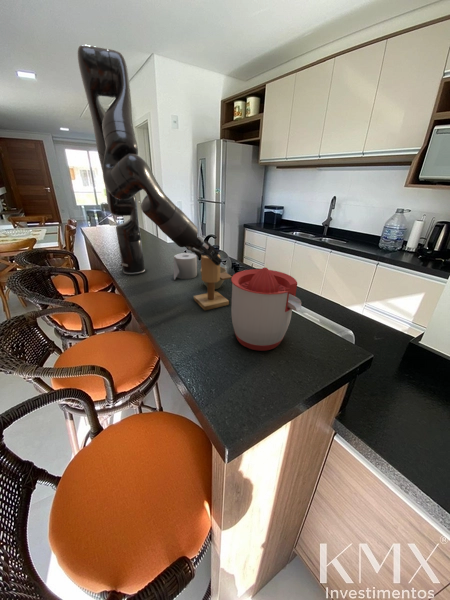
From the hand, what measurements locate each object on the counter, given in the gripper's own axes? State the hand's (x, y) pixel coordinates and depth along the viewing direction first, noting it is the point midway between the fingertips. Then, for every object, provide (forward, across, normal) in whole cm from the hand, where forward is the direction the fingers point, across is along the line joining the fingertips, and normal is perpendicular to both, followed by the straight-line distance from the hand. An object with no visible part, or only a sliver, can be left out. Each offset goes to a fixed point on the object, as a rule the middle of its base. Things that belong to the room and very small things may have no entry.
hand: (211, 259), depth 79 cm
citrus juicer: (+9, -26, +13) cm, 30 cm away
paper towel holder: (+10, 0, +11) cm, 15 cm away
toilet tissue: (+15, +27, +7) cm, 32 cm away
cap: (+6, 0, +3) cm, 7 cm away
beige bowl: (+17, +10, +5) cm, 20 cm away
